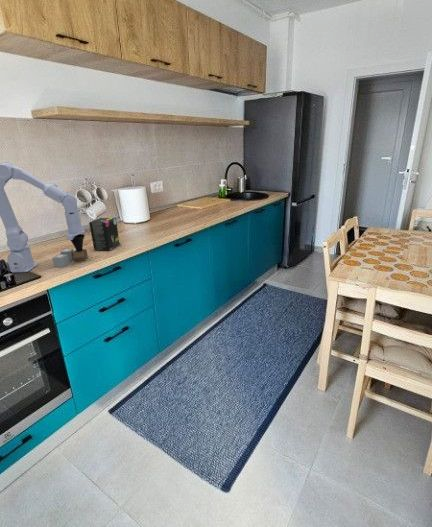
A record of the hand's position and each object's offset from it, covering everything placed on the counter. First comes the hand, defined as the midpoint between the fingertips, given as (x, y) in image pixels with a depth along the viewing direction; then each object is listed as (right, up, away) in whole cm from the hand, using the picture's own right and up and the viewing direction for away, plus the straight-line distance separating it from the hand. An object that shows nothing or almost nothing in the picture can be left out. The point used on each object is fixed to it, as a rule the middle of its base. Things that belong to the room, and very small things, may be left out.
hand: (79, 250), depth 142 cm
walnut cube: (0, -4, +2) cm, 4 cm away
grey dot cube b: (-6, -7, -5) cm, 10 cm away
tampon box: (+6, +2, +18) cm, 20 cm away
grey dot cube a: (-6, -4, +3) cm, 8 cm away
